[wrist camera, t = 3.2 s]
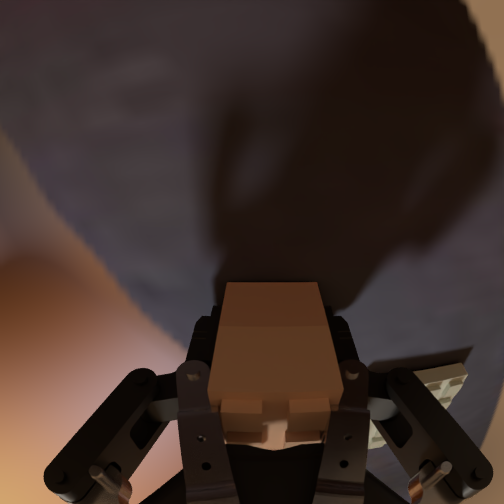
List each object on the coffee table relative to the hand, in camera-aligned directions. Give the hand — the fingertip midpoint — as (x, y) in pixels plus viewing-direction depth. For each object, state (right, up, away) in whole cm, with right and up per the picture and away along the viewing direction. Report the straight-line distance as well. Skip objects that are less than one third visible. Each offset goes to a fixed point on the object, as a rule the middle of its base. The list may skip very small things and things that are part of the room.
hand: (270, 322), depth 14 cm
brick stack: (0, 0, 0) cm, 0 cm away
